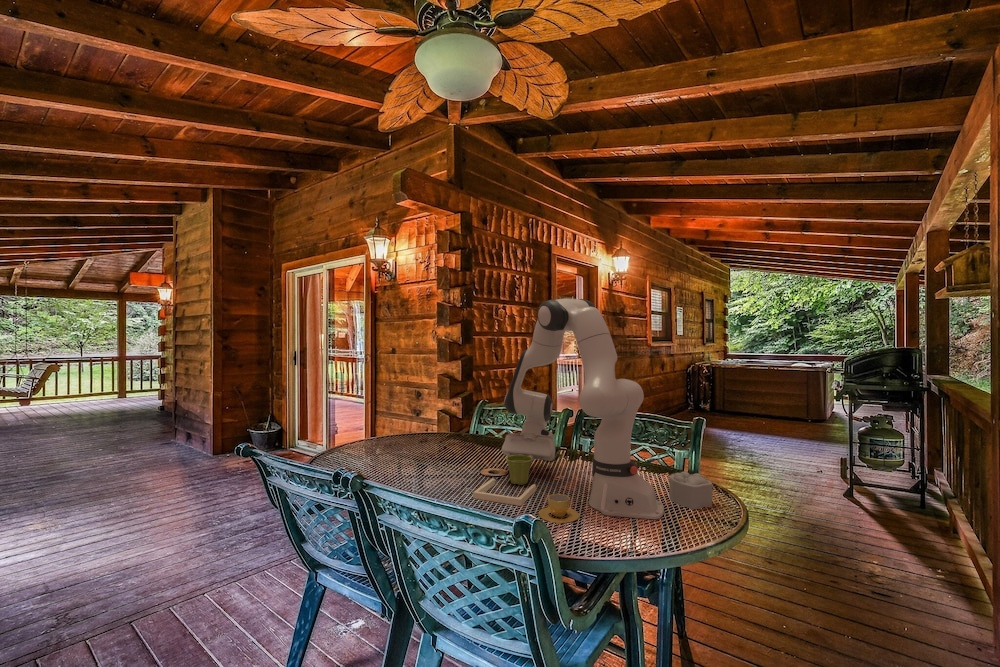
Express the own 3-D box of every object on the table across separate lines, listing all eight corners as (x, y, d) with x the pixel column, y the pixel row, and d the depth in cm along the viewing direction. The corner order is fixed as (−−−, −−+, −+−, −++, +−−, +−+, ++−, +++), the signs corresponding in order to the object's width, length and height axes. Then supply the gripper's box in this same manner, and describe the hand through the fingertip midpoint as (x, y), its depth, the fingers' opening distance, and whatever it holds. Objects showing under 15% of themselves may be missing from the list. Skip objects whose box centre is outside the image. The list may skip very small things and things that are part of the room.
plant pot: (501, 480, 168) (501, 456, 168) (524, 476, 172) (524, 453, 172) (513, 488, 159) (513, 463, 159) (537, 484, 163) (537, 460, 163)
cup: (575, 526, 129) (575, 507, 129) (533, 520, 133) (533, 501, 133) (582, 511, 140) (582, 493, 140) (543, 506, 144) (544, 488, 144)
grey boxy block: (692, 511, 140) (692, 482, 140) (660, 497, 152) (661, 470, 152) (716, 506, 144) (717, 478, 144) (684, 492, 156) (684, 467, 156)
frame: (536, 490, 157) (536, 484, 157) (520, 506, 143) (520, 499, 143) (491, 484, 163) (491, 478, 163) (473, 498, 149) (473, 492, 149)
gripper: (505, 428, 180) (495, 459, 171) (556, 432, 172) (548, 466, 163) (509, 437, 185) (499, 468, 176) (559, 442, 177) (551, 475, 168)
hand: (523, 467), depth 169 cm, fingers closed, pressing on plant pot
